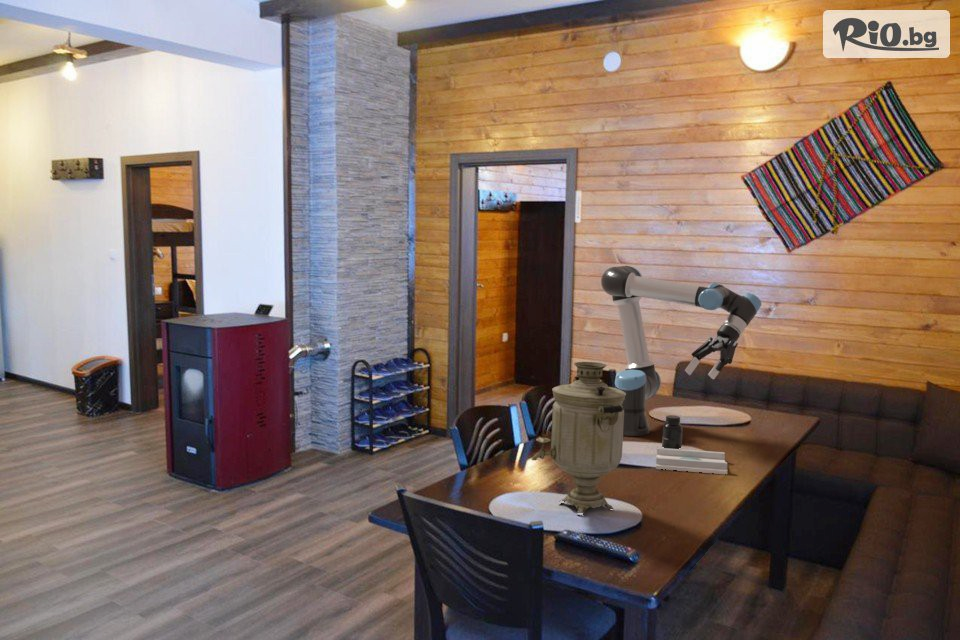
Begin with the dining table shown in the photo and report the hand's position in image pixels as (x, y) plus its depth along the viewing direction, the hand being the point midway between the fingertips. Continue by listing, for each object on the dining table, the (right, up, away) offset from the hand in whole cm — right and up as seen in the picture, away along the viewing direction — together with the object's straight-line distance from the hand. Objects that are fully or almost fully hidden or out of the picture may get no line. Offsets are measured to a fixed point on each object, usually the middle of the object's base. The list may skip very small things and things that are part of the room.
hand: (698, 375), depth 266 cm
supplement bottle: (-11, -26, -5) cm, 29 cm away
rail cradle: (-9, -28, -23) cm, 37 cm away
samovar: (-53, -32, -62) cm, 87 cm away
